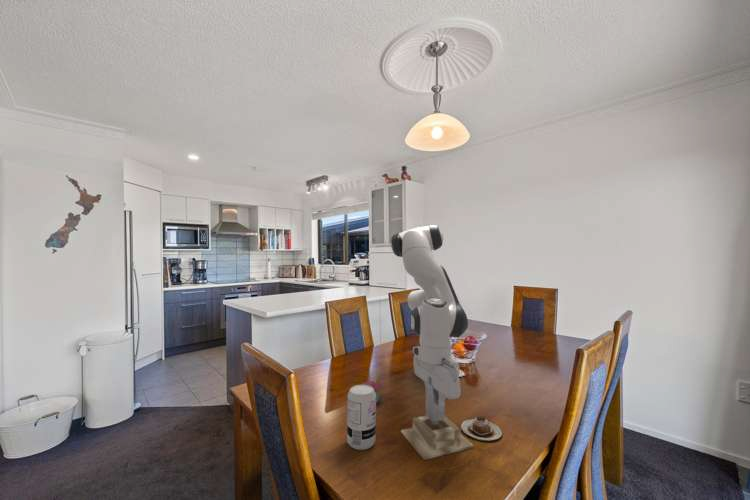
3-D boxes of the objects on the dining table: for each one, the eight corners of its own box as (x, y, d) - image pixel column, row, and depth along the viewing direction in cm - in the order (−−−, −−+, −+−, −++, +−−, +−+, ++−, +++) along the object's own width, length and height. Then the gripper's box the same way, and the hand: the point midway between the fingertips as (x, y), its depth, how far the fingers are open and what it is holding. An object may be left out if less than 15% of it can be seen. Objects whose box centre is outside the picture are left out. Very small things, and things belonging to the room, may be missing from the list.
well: (445, 422, 98) (445, 408, 99) (473, 447, 85) (473, 430, 85) (400, 432, 93) (400, 416, 93) (423, 460, 80) (423, 442, 80)
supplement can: (347, 435, 91) (347, 384, 91) (374, 434, 92) (374, 383, 92) (346, 451, 83) (347, 395, 83) (376, 450, 83) (377, 395, 84)
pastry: (510, 440, 90) (510, 424, 90) (475, 447, 86) (475, 430, 86) (485, 420, 101) (485, 406, 101) (453, 425, 98) (453, 410, 98)
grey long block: (437, 413, 92) (437, 373, 92) (444, 419, 88) (444, 377, 89) (425, 415, 90) (425, 374, 91) (432, 422, 87) (432, 379, 87)
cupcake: (385, 397, 116) (386, 366, 117) (379, 407, 108) (379, 373, 109) (365, 394, 119) (365, 363, 120) (356, 403, 111) (357, 370, 112)
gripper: (466, 364, 82) (466, 416, 81) (427, 344, 101) (427, 387, 100) (446, 366, 79) (446, 420, 79) (410, 346, 98) (410, 389, 98)
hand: (435, 401), depth 90 cm, fingers closed on grey long block, 4 cm apart
